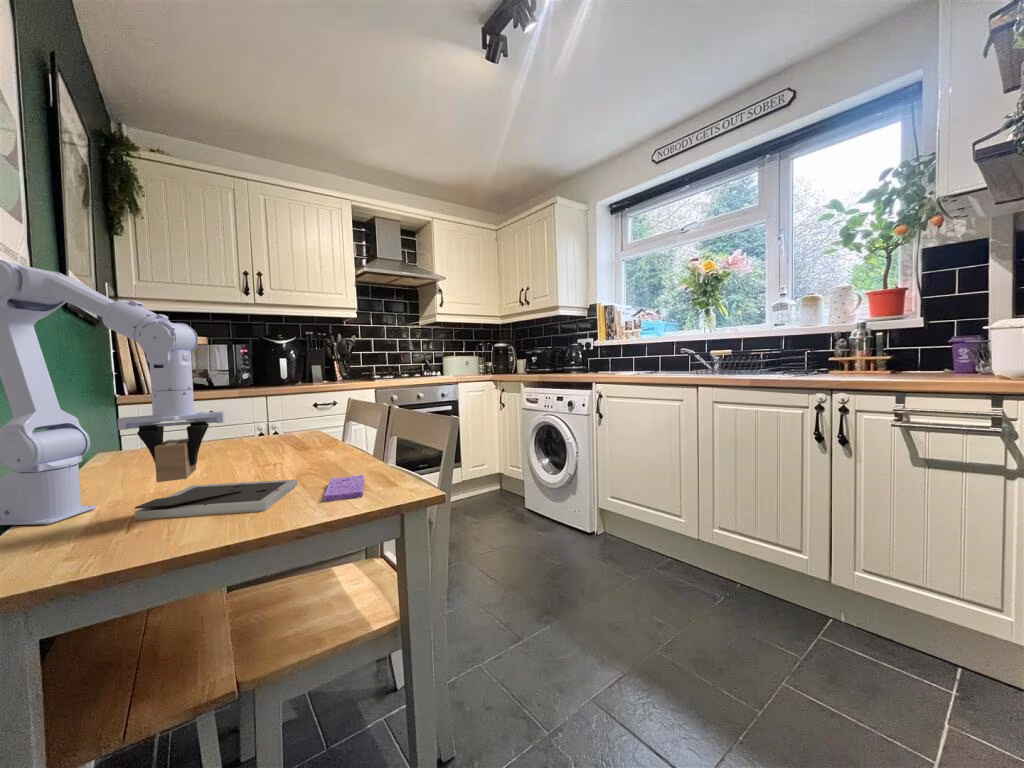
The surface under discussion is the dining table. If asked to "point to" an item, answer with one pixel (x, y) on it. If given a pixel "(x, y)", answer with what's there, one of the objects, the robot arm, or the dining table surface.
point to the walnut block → (173, 460)
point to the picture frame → (217, 499)
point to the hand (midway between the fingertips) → (177, 466)
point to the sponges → (344, 488)
